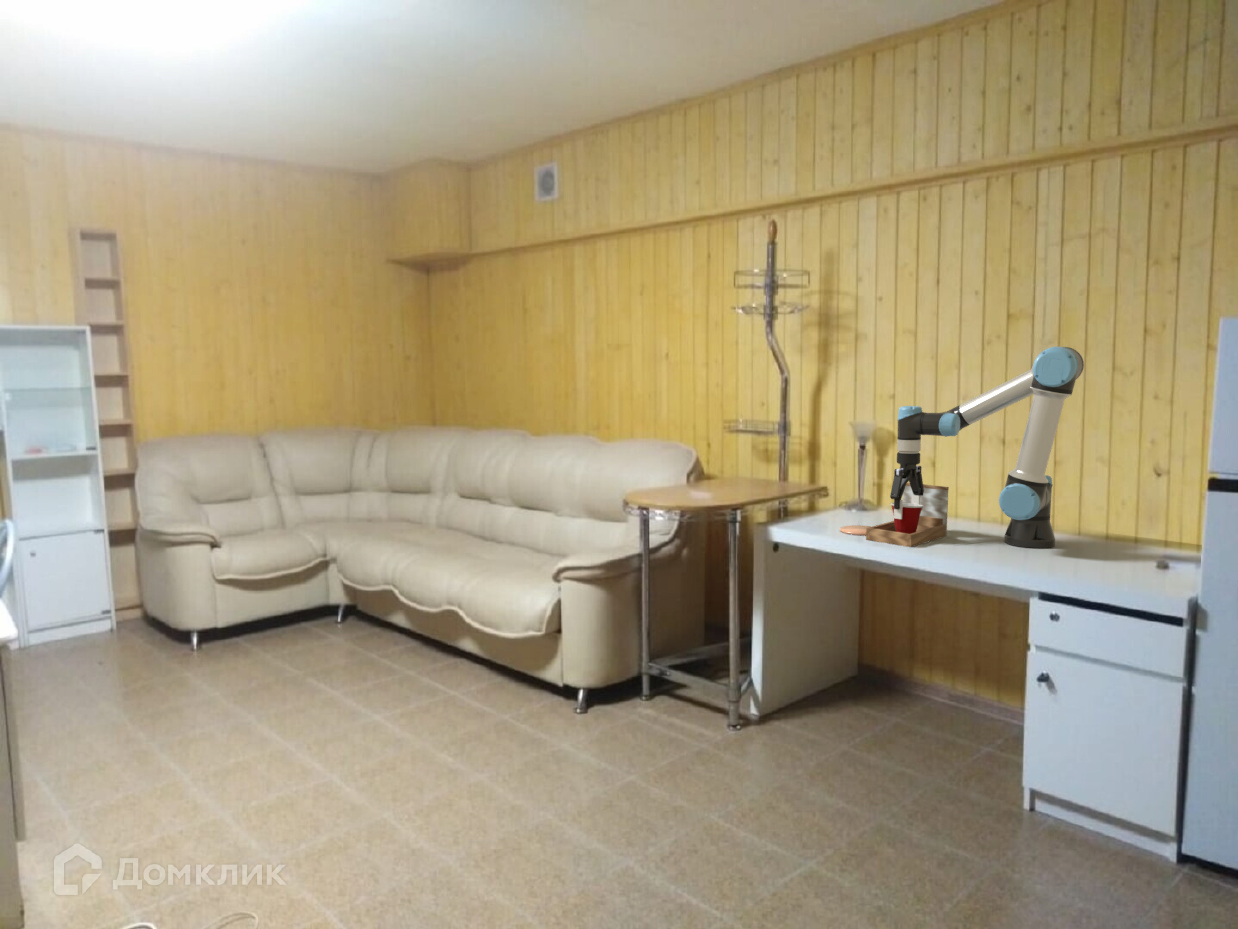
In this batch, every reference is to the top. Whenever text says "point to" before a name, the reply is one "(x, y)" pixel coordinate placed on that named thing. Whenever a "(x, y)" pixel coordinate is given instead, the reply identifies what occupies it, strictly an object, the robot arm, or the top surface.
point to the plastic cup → (908, 518)
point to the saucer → (854, 530)
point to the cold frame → (929, 520)
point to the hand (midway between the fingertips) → (906, 516)
